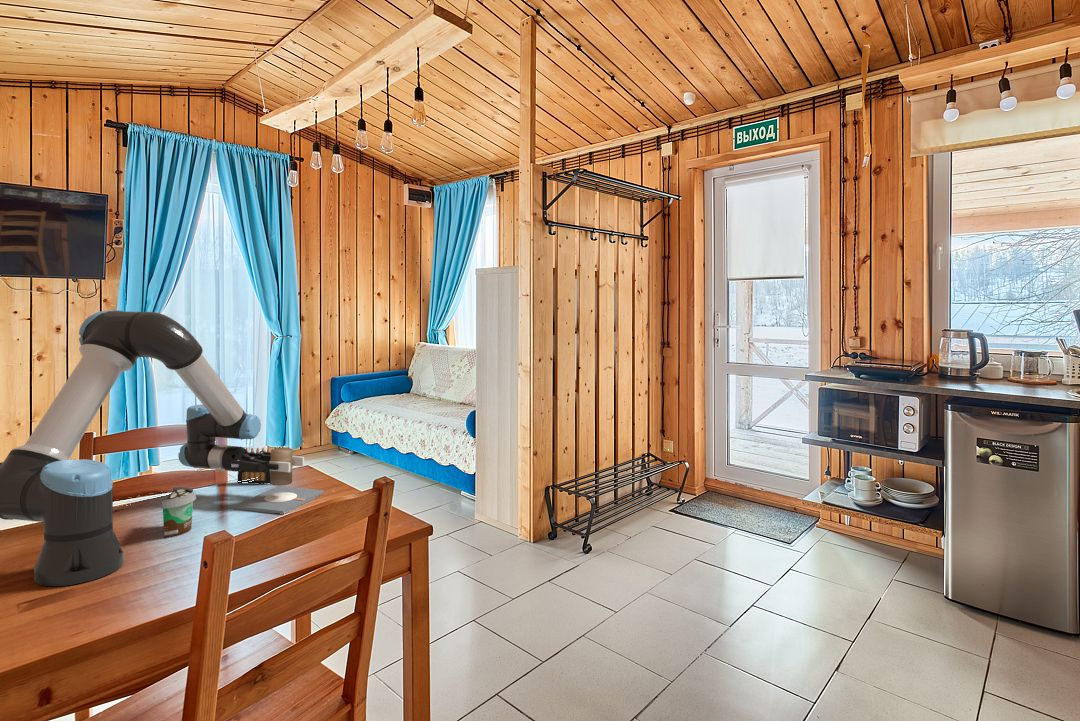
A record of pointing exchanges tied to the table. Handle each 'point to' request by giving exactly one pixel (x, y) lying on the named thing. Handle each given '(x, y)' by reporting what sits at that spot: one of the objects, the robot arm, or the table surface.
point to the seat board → (278, 499)
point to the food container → (178, 511)
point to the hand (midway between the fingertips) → (296, 464)
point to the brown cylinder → (277, 476)
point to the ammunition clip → (254, 473)
